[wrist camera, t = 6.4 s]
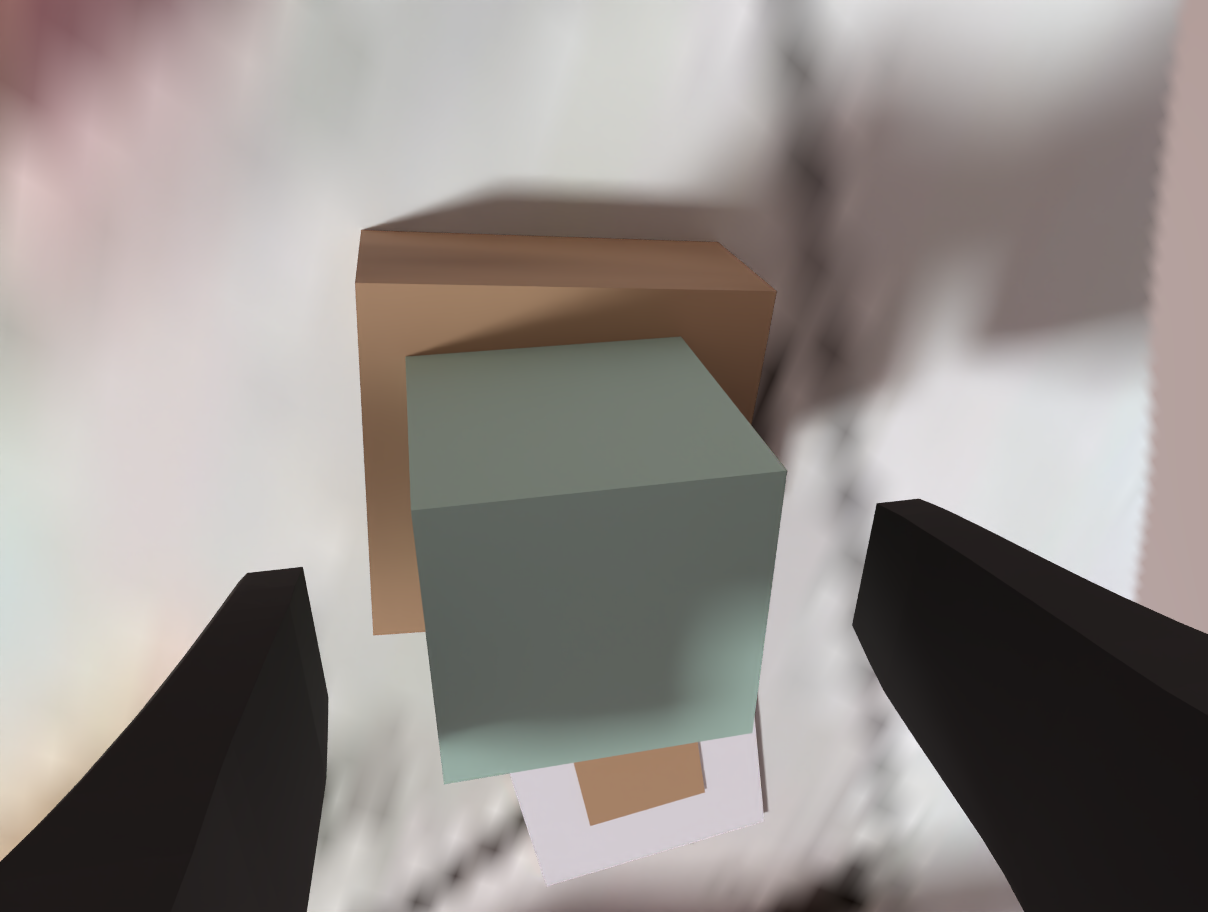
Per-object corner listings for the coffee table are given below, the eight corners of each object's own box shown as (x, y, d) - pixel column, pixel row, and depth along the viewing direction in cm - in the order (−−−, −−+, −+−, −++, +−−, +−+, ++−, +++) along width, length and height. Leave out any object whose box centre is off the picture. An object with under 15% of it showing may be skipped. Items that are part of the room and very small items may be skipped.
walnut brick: (670, 520, 18) (715, 611, 16) (376, 533, 17) (373, 635, 14) (712, 237, 15) (777, 291, 13) (362, 225, 14) (354, 283, 11)
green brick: (668, 556, 15) (752, 733, 11) (431, 584, 14) (444, 784, 10) (681, 336, 13) (787, 470, 9) (405, 356, 12) (410, 510, 9)
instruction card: (761, 815, 23) (765, 824, 23) (545, 879, 22) (547, 889, 22) (736, 554, 18) (741, 562, 18) (462, 626, 18) (463, 636, 18)
